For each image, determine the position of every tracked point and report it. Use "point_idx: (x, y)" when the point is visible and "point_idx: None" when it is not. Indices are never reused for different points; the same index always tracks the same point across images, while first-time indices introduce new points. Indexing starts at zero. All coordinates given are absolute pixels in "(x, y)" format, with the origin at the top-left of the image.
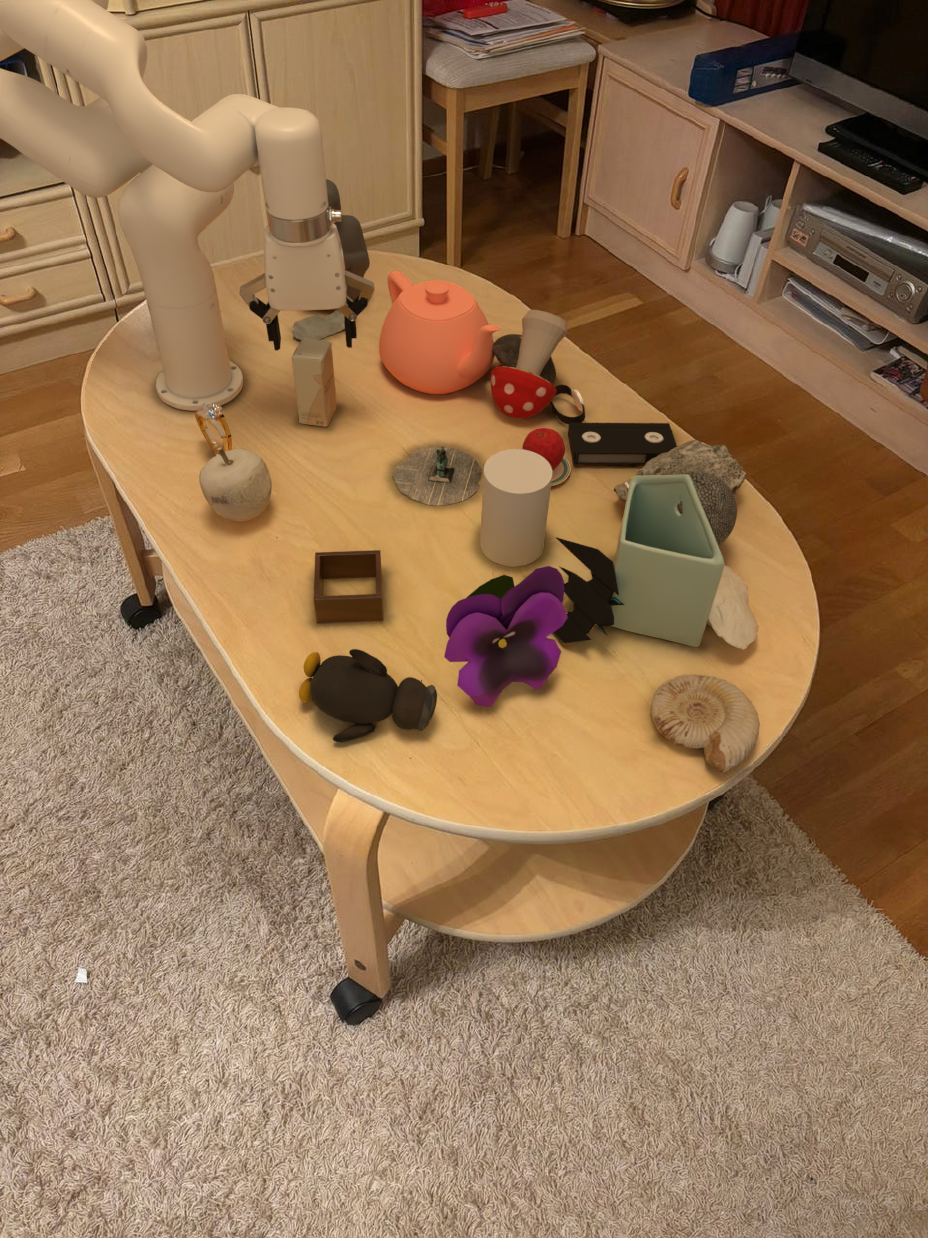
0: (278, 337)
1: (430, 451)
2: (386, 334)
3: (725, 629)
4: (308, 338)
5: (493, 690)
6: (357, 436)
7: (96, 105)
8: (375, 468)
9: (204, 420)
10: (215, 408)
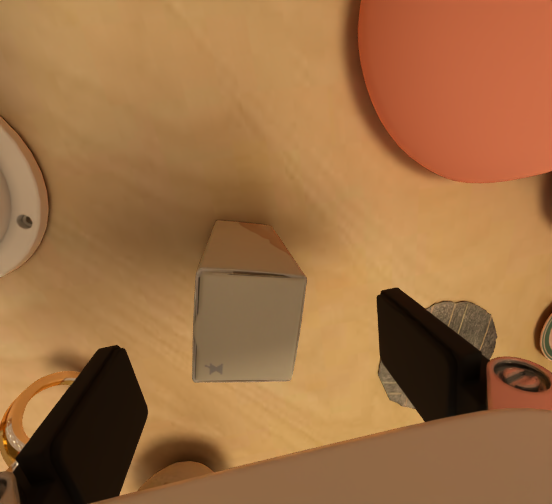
0: (129, 445)
1: (432, 313)
2: (425, 56)
3: None
4: (222, 276)
5: None
6: (319, 297)
7: None
8: (352, 361)
9: (30, 397)
10: None
